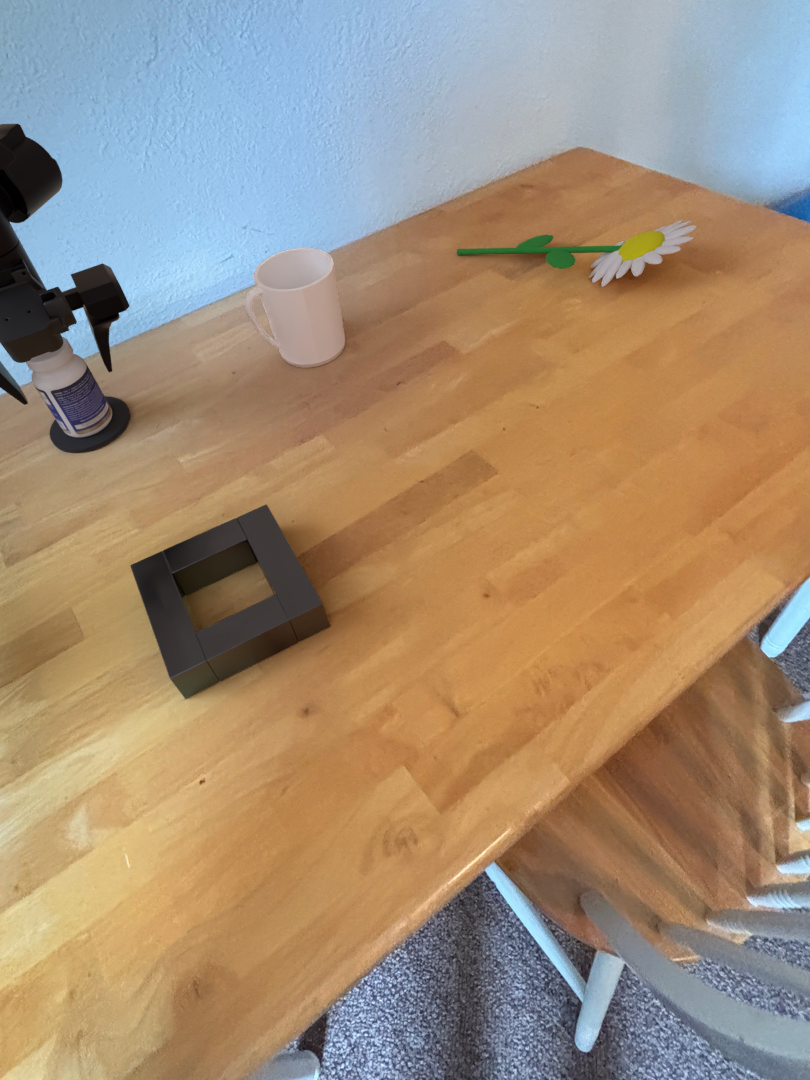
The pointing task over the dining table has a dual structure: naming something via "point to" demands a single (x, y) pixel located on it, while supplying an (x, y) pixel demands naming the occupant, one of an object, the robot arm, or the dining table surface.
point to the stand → (243, 634)
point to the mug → (299, 306)
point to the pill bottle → (70, 391)
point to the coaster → (96, 440)
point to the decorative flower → (605, 251)
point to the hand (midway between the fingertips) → (68, 386)
